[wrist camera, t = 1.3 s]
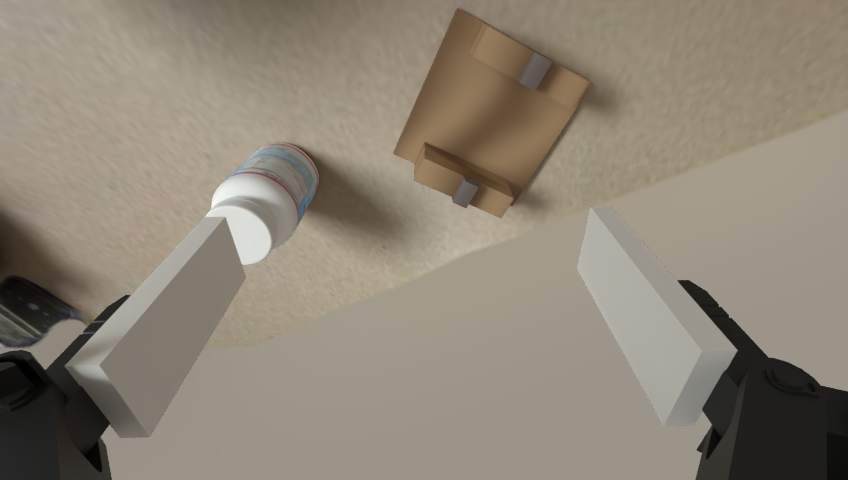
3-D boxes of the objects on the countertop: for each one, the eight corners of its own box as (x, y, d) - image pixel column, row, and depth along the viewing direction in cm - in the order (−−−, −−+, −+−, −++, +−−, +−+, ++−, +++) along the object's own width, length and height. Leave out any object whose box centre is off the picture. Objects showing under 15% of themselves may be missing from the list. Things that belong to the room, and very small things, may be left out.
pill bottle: (284, 213, 38) (237, 287, 28) (238, 162, 35) (168, 224, 26) (334, 183, 36) (301, 250, 27) (289, 126, 34) (235, 179, 24)
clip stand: (393, 151, 35) (388, 176, 30) (457, 7, 29) (463, 10, 24) (510, 203, 37) (523, 233, 33) (590, 81, 32) (619, 96, 27)
